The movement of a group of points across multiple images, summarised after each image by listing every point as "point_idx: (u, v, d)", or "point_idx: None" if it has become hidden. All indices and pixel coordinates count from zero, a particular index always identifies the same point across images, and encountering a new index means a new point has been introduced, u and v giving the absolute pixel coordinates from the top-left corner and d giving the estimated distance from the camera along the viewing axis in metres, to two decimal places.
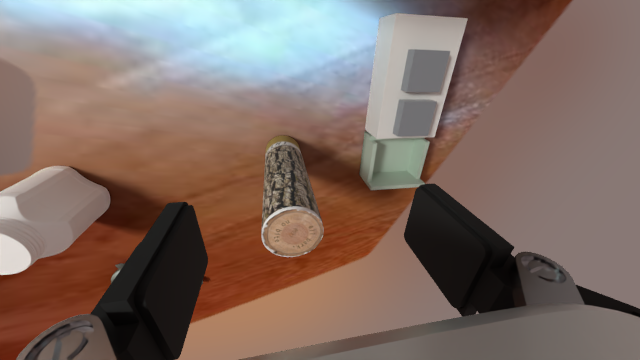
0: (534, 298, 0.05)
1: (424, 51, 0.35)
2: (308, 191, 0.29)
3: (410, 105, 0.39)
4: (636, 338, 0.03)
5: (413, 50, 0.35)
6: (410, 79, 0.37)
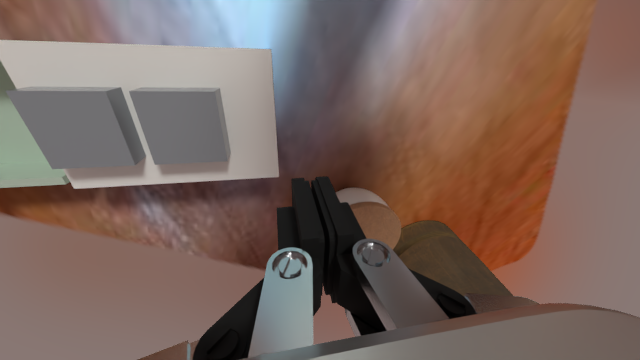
0: (386, 297, 0.05)
1: (216, 112, 0.19)
2: None
3: (102, 108, 0.17)
4: (636, 338, 0.03)
5: (214, 90, 0.19)
6: (157, 94, 0.17)
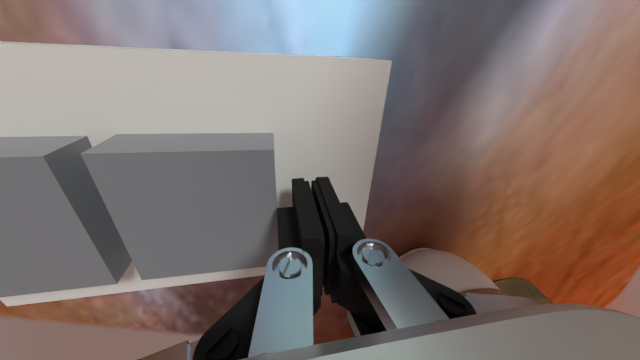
0: (386, 296, 0.05)
1: (271, 187, 0.09)
2: None
3: (38, 190, 0.08)
4: (636, 338, 0.03)
5: (268, 144, 0.09)
6: (148, 158, 0.08)
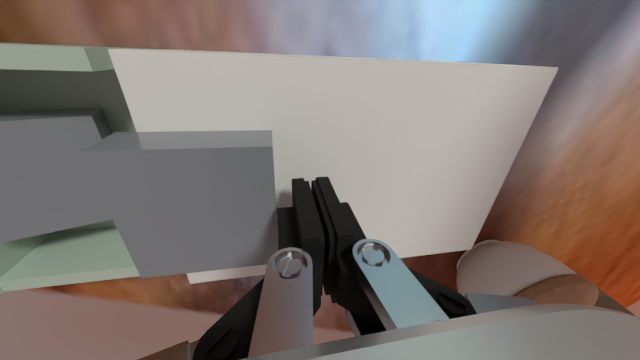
0: (386, 297, 0.05)
1: (270, 185, 0.09)
2: None
3: None
4: (636, 338, 0.03)
5: (267, 141, 0.09)
6: (147, 155, 0.08)
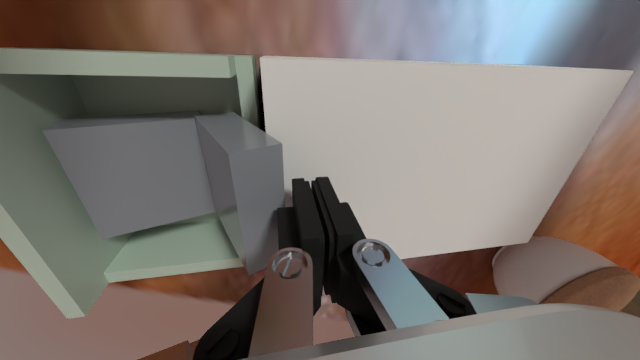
0: (386, 296, 0.05)
1: (233, 192, 0.09)
2: None
3: None
4: (636, 338, 0.03)
5: (242, 148, 0.08)
6: (202, 128, 0.11)
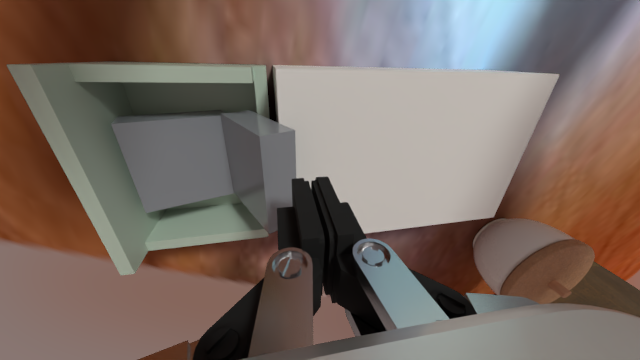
0: (386, 296, 0.05)
1: (261, 165, 0.12)
2: None
3: None
4: (636, 338, 0.03)
5: (268, 133, 0.11)
6: (230, 122, 0.14)
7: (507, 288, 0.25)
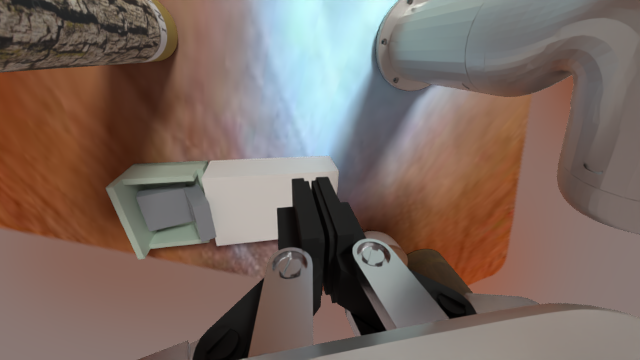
0: (386, 296, 0.05)
1: (194, 216, 0.31)
2: (35, 51, 0.11)
3: None
4: (636, 337, 0.03)
5: (196, 205, 0.30)
6: (186, 194, 0.33)
7: None
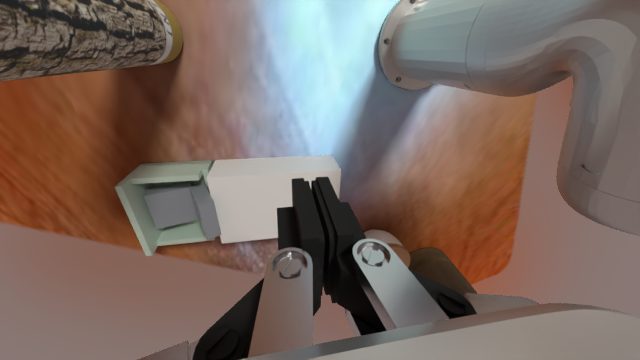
0: (386, 296, 0.05)
1: (200, 215, 0.31)
2: (49, 59, 0.12)
3: None
4: (636, 337, 0.03)
5: (202, 203, 0.31)
6: (191, 193, 0.34)
7: None
